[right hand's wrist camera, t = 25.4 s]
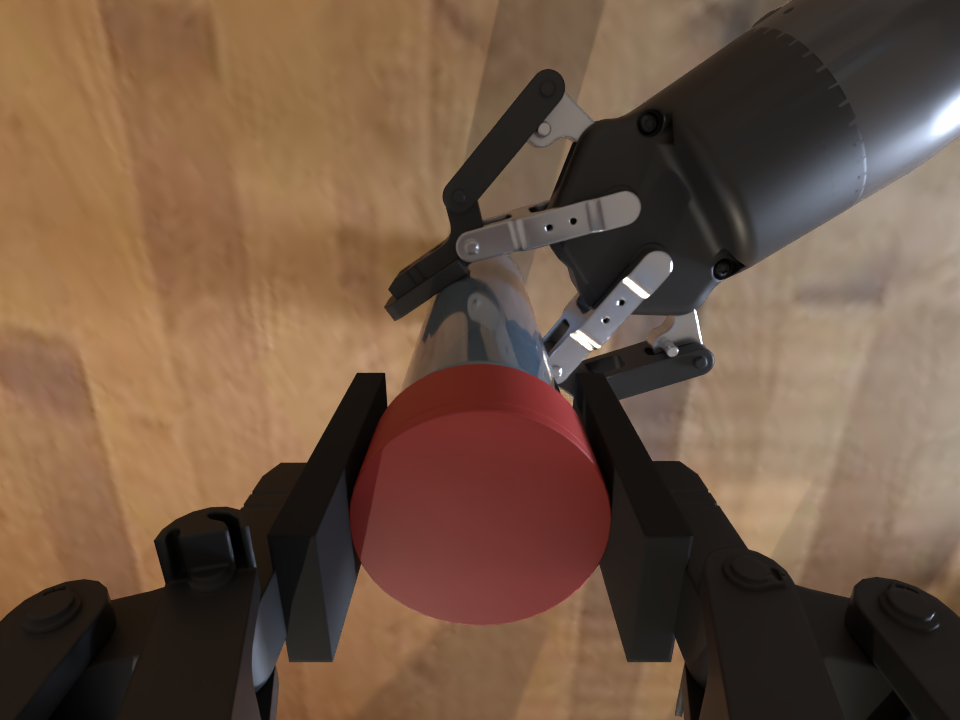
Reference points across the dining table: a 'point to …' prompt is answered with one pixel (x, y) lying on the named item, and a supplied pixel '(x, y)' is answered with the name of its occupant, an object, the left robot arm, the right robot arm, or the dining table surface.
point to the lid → (480, 498)
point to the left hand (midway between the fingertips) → (430, 357)
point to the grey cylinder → (482, 325)
